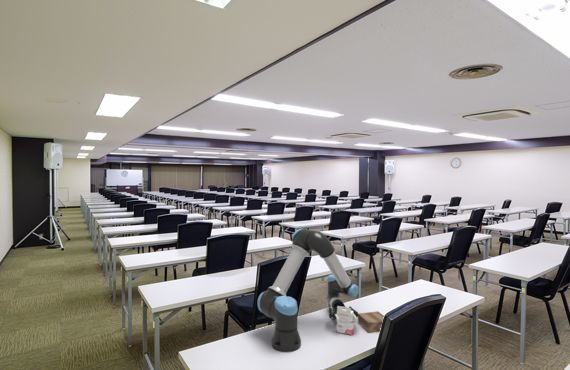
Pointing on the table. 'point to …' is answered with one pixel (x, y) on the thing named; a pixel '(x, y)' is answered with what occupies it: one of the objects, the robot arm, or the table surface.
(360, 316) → the walnut block
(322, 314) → the table surface
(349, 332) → the ink cartridge box
